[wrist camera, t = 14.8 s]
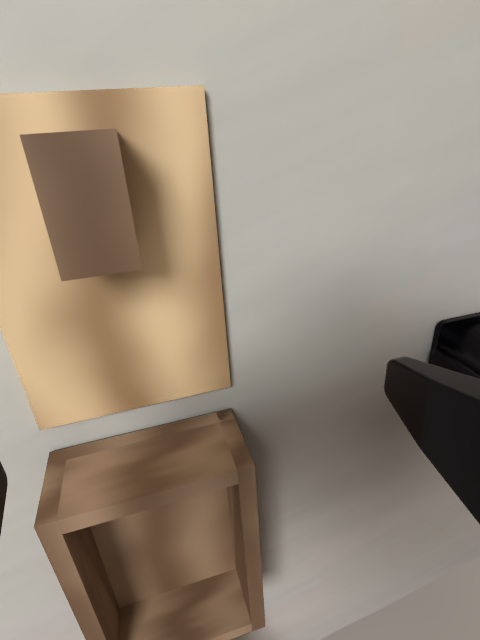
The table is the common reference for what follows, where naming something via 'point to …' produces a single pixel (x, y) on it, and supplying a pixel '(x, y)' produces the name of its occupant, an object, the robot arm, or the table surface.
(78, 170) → the lid
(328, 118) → the table surface
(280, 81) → the table surface
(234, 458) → the toolbox
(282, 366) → the table surface
